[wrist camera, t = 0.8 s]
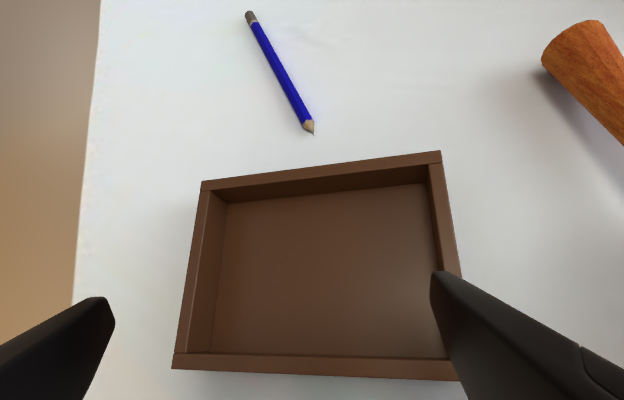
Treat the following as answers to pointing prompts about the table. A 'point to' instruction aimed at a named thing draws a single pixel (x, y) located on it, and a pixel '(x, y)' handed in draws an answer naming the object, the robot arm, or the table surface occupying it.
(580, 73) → the kendama
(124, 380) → the table surface
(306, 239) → the tray
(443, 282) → the robot arm
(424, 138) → the table surface
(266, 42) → the pencil
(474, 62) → the table surface
